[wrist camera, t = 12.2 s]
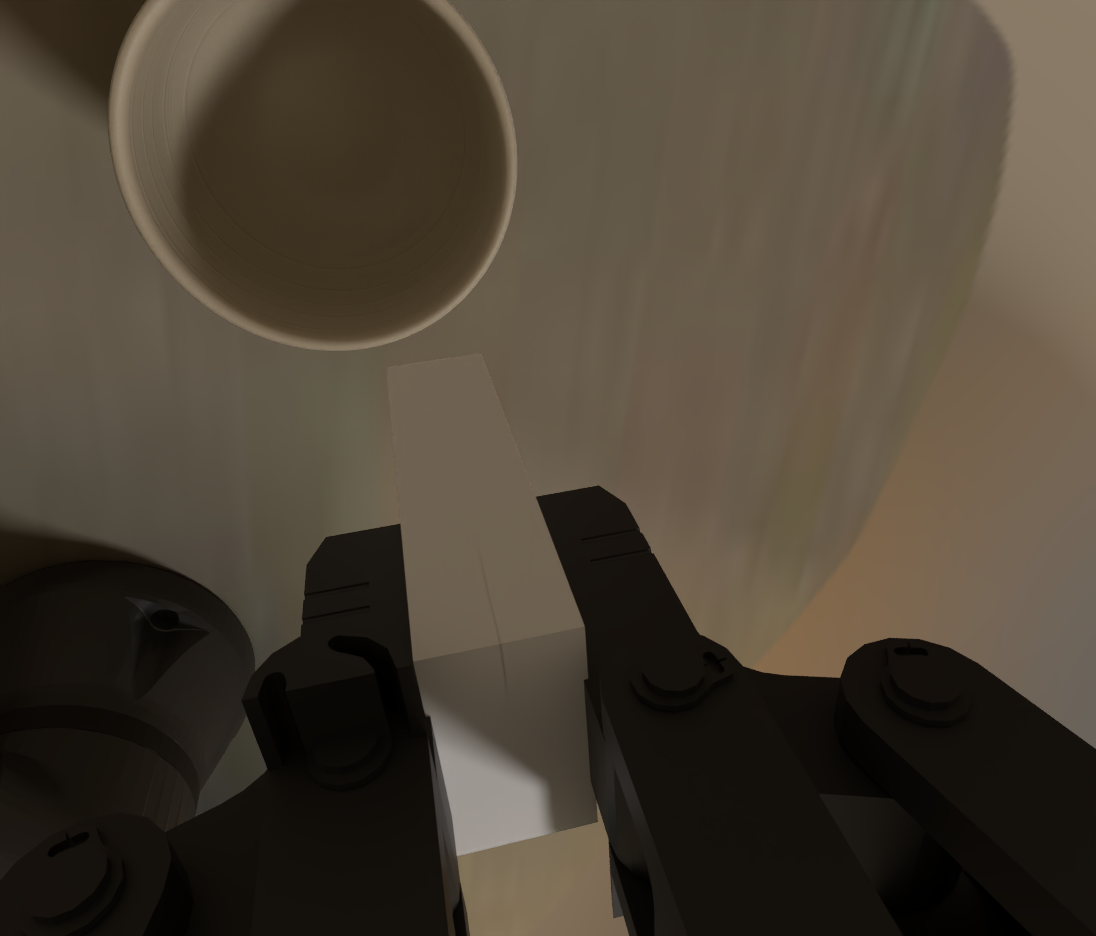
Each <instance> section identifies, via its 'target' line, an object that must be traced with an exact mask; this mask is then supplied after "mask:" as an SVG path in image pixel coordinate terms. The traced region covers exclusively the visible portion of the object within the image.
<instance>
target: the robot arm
mask: <svg viewBox="0 0 1096 936" xmlns="http://www.w3.org/2000/svg"><path fill="white" fill-rule="evenodd" d="M386 371H387V382H388V393H389V404H390V415H391V425H392V436H393V447H394V458H395V469H396V480H397V491H398V502H399V513H400V524H397V525H391V526H385V527H380V528H374V529H369V530H363V531H358V532H352V533H346V534H341V535H335V536H330V537H326V538H325V539H324V541H323V542H322V544H321V545H320V546H319V548H318V549H317V551H316V552H315V554H314V555H313V557H312V558H311V559H310V561H309V562H308V564H307V568H306V579H305V591H304V595H305V600H304V602H303V614H302V620H303V625H301V637H299V638H297V639H295V640H294V641H292V642H291V643H289V644H287V645H286V646H284V647H282V648H281V649H279V650H278V651H276V652H274V653H273V654H271V655H270V657H269V658H268V659H267V660H266V661H265V662H264V663H263V664H262V665H261V666H260V667H259V668H258V669H257V670H256V672H255V657H254V652H253V648H252V644H251V641H250V639H249V637H248V634H247V632H246V631H245V629H244V627H243V625H242V624H241V622H240V621H239V620H238V618H237V617H236V616H235V615H234V613H233V612H232V611H231V610H230V609H229V608H228V607H227V606H226V605H225V604H224V603H223V602H221V601H220V600H219V599H218V598H216V597H215V596H214V595H212V594H211V593H210V592H208V591H207V590H205V589H203V588H202V587H200V586H198V585H197V584H195V583H193V582H191V581H189V580H187V579H184V578H182V577H180V576H177V575H175V574H172V573H169V572H166V571H163V570H160V569H156V568H152V567H148V566H144V565H138V564H132V563H125V562H113V561H87V562H76V563H69V564H63V565H58V566H53V567H49V568H46V569H42V570H39V571H36V572H33V573H30V574H28V575H26V576H23V577H21V578H19V579H17V580H15V581H13V582H11V583H9V584H8V585H6V586H4V587H3V588H1V589H0V936H470V933H469V925H468V918H467V910H466V906H465V902H464V897H463V893H462V888H461V884H460V878H459V870H458V861H457V856H460V855H464V854H468V853H472V852H476V851H480V850H484V849H488V848H493V847H497V846H501V845H505V844H509V843H513V842H517V841H521V840H526V839H530V838H534V837H538V836H542V835H546V834H550V833H554V832H558V831H563V830H567V829H571V828H575V827H579V826H583V825H587V824H591V823H596V822H598V820H597V805H596V800H597V803H598V806H599V809H600V813H601V816H602V819H603V822H604V825H605V829H606V832H607V835H608V839H609V857H610V875H611V893H612V906H613V917H614V918H616V917H620V916H624V919H625V922H626V926H627V929H628V933H629V936H1096V749H1095V748H1093V747H1092V746H1091V745H1089V744H1088V743H1087V742H1085V741H1084V740H1083V739H1081V738H1079V737H1078V736H1077V735H1076V734H1074V733H1073V732H1071V731H1070V730H1069V729H1067V728H1066V727H1065V726H1063V725H1062V724H1061V723H1059V722H1058V721H1056V720H1055V719H1054V718H1052V717H1051V716H1050V715H1048V714H1047V713H1045V712H1044V711H1043V710H1041V709H1040V708H1039V707H1037V706H1036V705H1035V704H1033V703H1032V702H1030V701H1029V700H1028V699H1026V698H1025V697H1024V696H1022V695H1021V694H1019V693H1018V692H1016V691H1015V690H1014V689H1013V688H1011V687H1010V686H1008V685H1007V684H1006V683H1004V682H1003V681H1002V680H1000V679H999V678H997V677H996V676H995V675H993V674H992V673H991V672H989V671H988V670H986V669H985V668H984V667H982V666H981V665H979V664H978V663H976V662H975V661H972V660H971V659H969V658H967V657H966V656H964V655H962V654H960V653H958V652H956V651H955V650H953V649H951V648H949V647H945V646H942V645H938V644H934V643H931V642H927V641H924V640H920V639H902V638H887V639H883V640H880V641H876V642H872V643H868V644H864V645H863V646H862V647H861V648H859V649H858V650H857V651H855V652H854V653H853V654H852V655H850V656H849V657H848V658H847V660H846V663H845V666H844V669H843V671H842V674H841V677H840V678H831V677H830V678H829V677H808V676H788V675H778V674H771V673H763V672H759V671H756V670H753V669H750V668H746V667H743V666H742V665H741V664H740V663H739V661H738V660H737V659H736V658H735V657H734V656H733V655H732V654H731V653H730V652H729V650H728V649H727V648H725V647H723V646H722V645H720V644H718V643H716V642H714V641H712V640H710V639H708V638H707V637H705V636H702V635H700V634H699V633H698V632H697V630H696V628H695V627H694V625H693V623H692V621H691V619H690V618H689V616H688V614H687V612H686V611H685V609H684V607H683V605H682V603H681V602H680V600H679V598H678V596H677V594H676V593H675V591H674V589H673V587H672V585H671V584H670V582H669V580H668V578H667V577H666V575H665V573H664V571H663V569H662V568H661V566H660V564H659V562H658V560H657V559H656V557H655V555H654V553H653V554H652V553H651V548H650V546H649V544H648V543H647V541H646V539H645V537H644V535H643V534H642V533H640V530H639V526H638V525H637V523H636V521H635V519H634V517H633V516H632V514H631V512H630V510H629V509H628V507H627V505H626V503H624V502H623V501H621V500H620V499H618V498H617V497H615V496H614V495H612V494H611V493H609V492H608V491H606V490H605V489H603V488H602V487H600V486H593V487H588V488H582V489H577V490H571V491H565V492H560V493H554V494H549V495H543V496H537V497H536V496H535V494H534V491H533V488H532V486H531V483H530V480H529V478H528V475H527V473H526V470H525V467H524V465H523V462H522V459H521V457H520V454H519V451H518V449H517V446H516V443H515V441H514V438H513V436H512V433H511V430H510V428H509V425H508V422H507V420H506V417H505V414H504V412H503V409H502V407H501V404H500V401H499V399H498V396H497V393H496V391H495V388H494V385H493V383H492V380H491V378H490V375H489V372H488V370H487V367H486V364H485V362H484V359H483V356H482V354H481V353H478V354H471V355H465V356H458V357H451V358H445V359H438V360H431V361H425V362H418V363H411V364H405V365H398V366H391V367H386ZM246 714H247V717H248V720H249V722H250V725H251V727H252V730H253V732H254V735H255V738H256V740H257V743H258V745H259V748H260V751H261V753H262V756H263V758H264V761H265V763H266V766H267V770H266V772H265V773H264V774H263V775H261V776H260V777H259V778H258V779H257V780H256V781H254V782H253V783H252V784H251V785H250V786H248V787H247V788H246V789H245V790H244V791H242V792H240V793H239V794H237V795H235V796H234V797H232V798H230V799H229V800H227V801H225V802H224V803H222V804H220V805H218V806H216V807H214V808H212V809H210V810H208V811H206V812H204V813H202V814H200V815H198V816H196V817H195V814H196V809H197V804H198V799H199V795H200V791H201V790H202V788H203V786H204V785H205V783H206V782H207V780H208V779H209V777H210V775H211V774H212V772H213V771H214V769H215V767H216V766H217V764H218V763H219V761H220V759H221V758H222V756H223V754H224V753H225V751H226V749H227V747H228V746H229V744H230V742H231V740H232V739H233V738H234V737H235V736H236V734H237V733H238V731H239V729H240V727H241V726H242V724H243V722H244V719H245V717H246Z"/></svg>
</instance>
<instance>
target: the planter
mask: <svg viewBox="0 0 1096 936" xmlns="http://www.w3.org/2000/svg"><path fill="white" fill-rule="evenodd" d="M108 134H109V144H110V152H111V157H112V163H113V167H114V171H115V175H116V179H117V182H118V185H119V188H120V191H121V194H122V197H123V199H124V202H125V204H126V207H127V209H128V211H129V213H130V216H131V218H132V220H133V222H134V224H135V226H136V227H137V229H138V231H139V233H140V234H141V236H142V238H143V239H144V241H145V242H146V244H147V246H148V247H149V249H150V250H151V251H152V253H153V254H154V256H155V257H156V258H157V259H158V261H159V262H160V263H161V265H162V266H163V267H164V268H165V269H166V270H167V272H168V273H169V274H170V275H171V276H172V277H173V278H174V279H175V280H176V281H177V282H178V283H179V284H180V285H181V286H182V287H183V288H184V289H185V290H186V291H187V292H188V293H189V294H190V295H192V296H193V297H194V298H195V299H196V300H198V301H199V302H200V303H201V304H203V305H204V306H205V307H207V308H208V309H210V310H211V311H212V312H214V313H215V314H217V315H218V316H220V317H222V318H223V319H225V320H227V321H228V322H230V323H232V324H234V325H236V326H238V327H240V328H242V329H244V330H246V331H248V332H250V333H252V334H255V335H257V336H260V337H263V338H265V339H268V340H271V341H274V342H278V343H281V344H285V345H289V346H294V347H299V348H305V349H312V350H325V351H345V350H358V349H365V348H371V347H376V346H380V345H384V344H388V343H391V342H394V341H397V340H400V339H403V338H405V337H407V336H410V335H412V334H414V333H416V332H418V331H420V330H422V329H424V328H426V327H428V326H429V325H431V324H433V323H434V322H436V321H437V320H439V319H440V318H442V317H443V316H444V315H446V314H447V313H448V312H450V311H451V310H452V309H453V308H454V307H455V306H457V305H458V304H459V303H460V302H461V301H462V300H463V299H464V298H465V297H466V296H467V295H468V294H469V293H470V292H471V290H472V289H473V288H474V287H475V286H476V284H477V283H478V282H479V281H480V279H481V278H482V276H483V275H484V274H485V272H486V271H487V269H488V267H489V266H490V264H491V263H492V261H493V259H494V257H495V255H496V253H497V251H498V249H499V247H500V245H501V243H502V240H503V238H504V235H505V232H506V230H507V227H508V224H509V220H510V217H511V213H512V208H513V204H514V198H515V192H516V183H517V146H516V136H515V129H514V124H513V118H512V114H511V110H510V106H509V103H508V99H507V96H506V93H505V90H504V87H503V84H502V82H501V79H500V77H499V75H498V72H497V70H496V68H495V66H494V64H493V62H492V60H491V58H490V56H489V54H488V52H487V51H486V49H485V47H484V45H483V44H482V42H481V41H480V39H479V37H478V36H477V34H476V33H475V32H474V30H473V29H472V27H471V26H470V25H469V23H468V22H467V21H466V19H465V18H464V17H463V16H462V15H461V13H460V12H459V11H458V10H457V9H456V8H455V7H454V5H453V4H452V3H451V2H450V1H449V0H146V1H145V3H144V4H143V5H142V7H141V8H140V10H139V11H138V13H137V14H136V16H135V18H134V19H133V21H132V23H131V25H130V27H129V29H128V31H127V33H126V35H125V37H124V39H123V42H122V44H121V47H120V50H119V52H118V55H117V58H116V62H115V66H114V69H113V74H112V79H111V84H110V91H109V101H108Z"/></svg>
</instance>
